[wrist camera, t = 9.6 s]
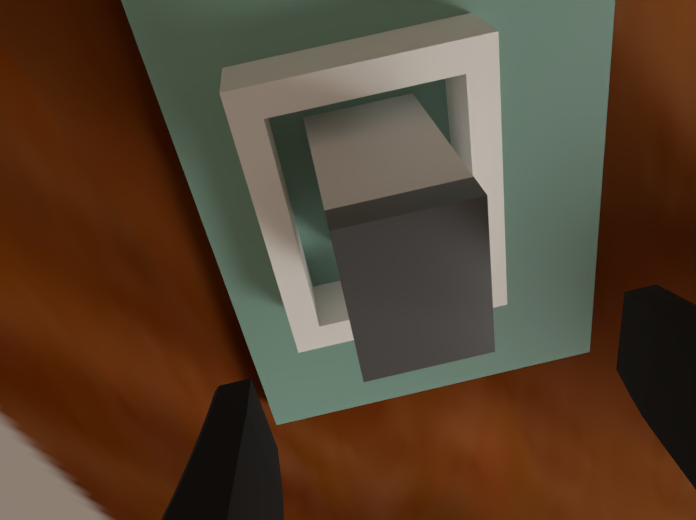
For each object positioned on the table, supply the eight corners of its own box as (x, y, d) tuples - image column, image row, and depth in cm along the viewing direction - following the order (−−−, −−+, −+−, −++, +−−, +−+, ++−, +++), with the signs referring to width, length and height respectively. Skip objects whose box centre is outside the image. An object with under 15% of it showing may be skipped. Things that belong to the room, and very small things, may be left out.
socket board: (577, 334, 23) (616, 390, 21) (275, 405, 23) (279, 470, 21) (610, -270, 13) (694, -301, 11) (75, -156, 13) (34, -161, 11)
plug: (427, 219, 18) (495, 351, 13) (331, 241, 18) (363, 382, 13) (412, 93, 16) (487, 195, 11) (303, 117, 16) (328, 231, 11)
